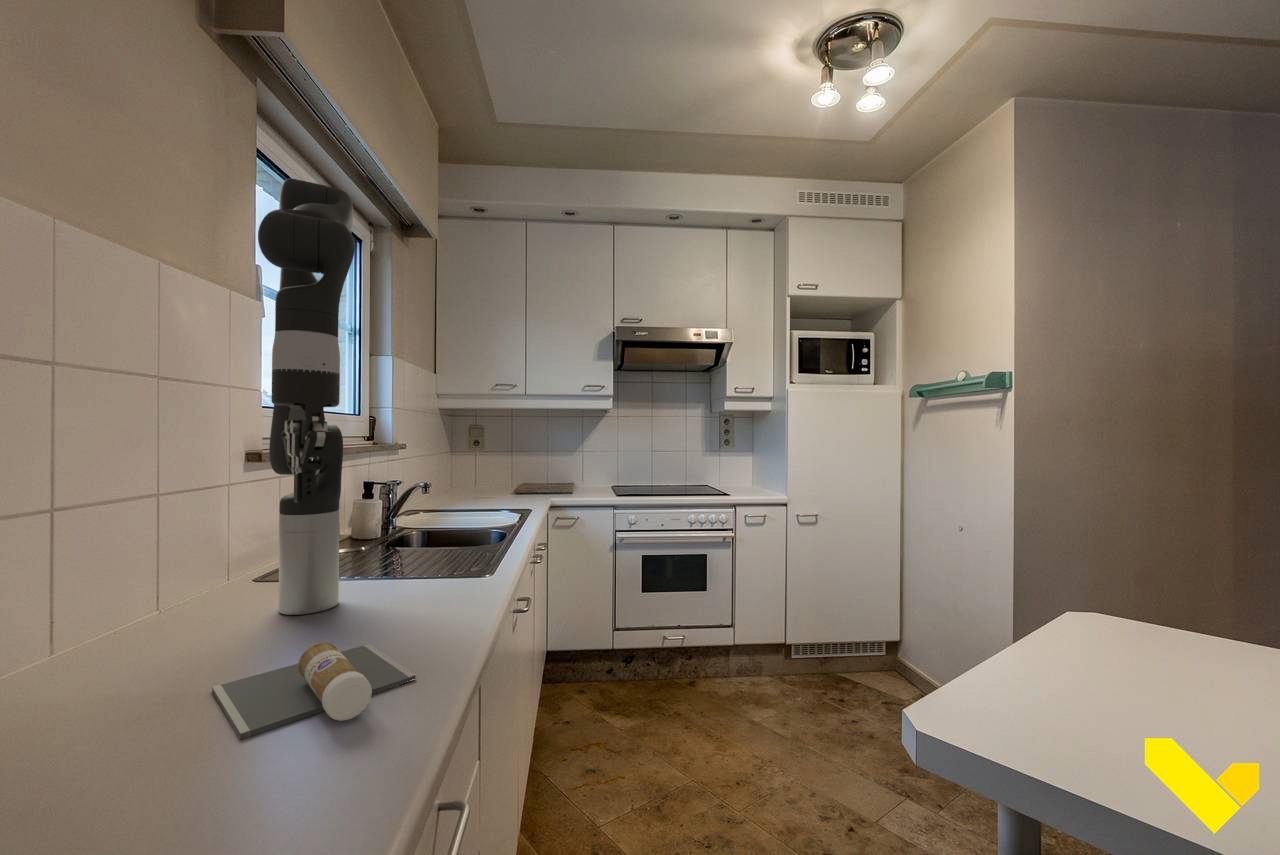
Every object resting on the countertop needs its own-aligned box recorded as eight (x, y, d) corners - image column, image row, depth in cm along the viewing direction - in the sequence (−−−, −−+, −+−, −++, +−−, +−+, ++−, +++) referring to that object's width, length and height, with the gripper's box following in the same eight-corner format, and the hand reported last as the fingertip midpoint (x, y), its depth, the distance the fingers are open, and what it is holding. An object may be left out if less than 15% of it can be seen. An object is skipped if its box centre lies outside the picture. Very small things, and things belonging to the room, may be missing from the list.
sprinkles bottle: (321, 633, 67) (354, 668, 57) (346, 655, 69) (382, 692, 59) (287, 665, 64) (316, 706, 55) (314, 687, 66) (346, 730, 57)
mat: (212, 692, 64) (212, 686, 64) (368, 648, 77) (369, 643, 77) (240, 739, 54) (240, 733, 54) (415, 680, 67) (415, 674, 67)
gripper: (356, 369, 68) (354, 505, 68) (322, 375, 77) (320, 495, 77) (287, 363, 62) (285, 511, 62) (259, 370, 71) (257, 500, 71)
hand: (304, 502), depth 69 cm, fingers closed
